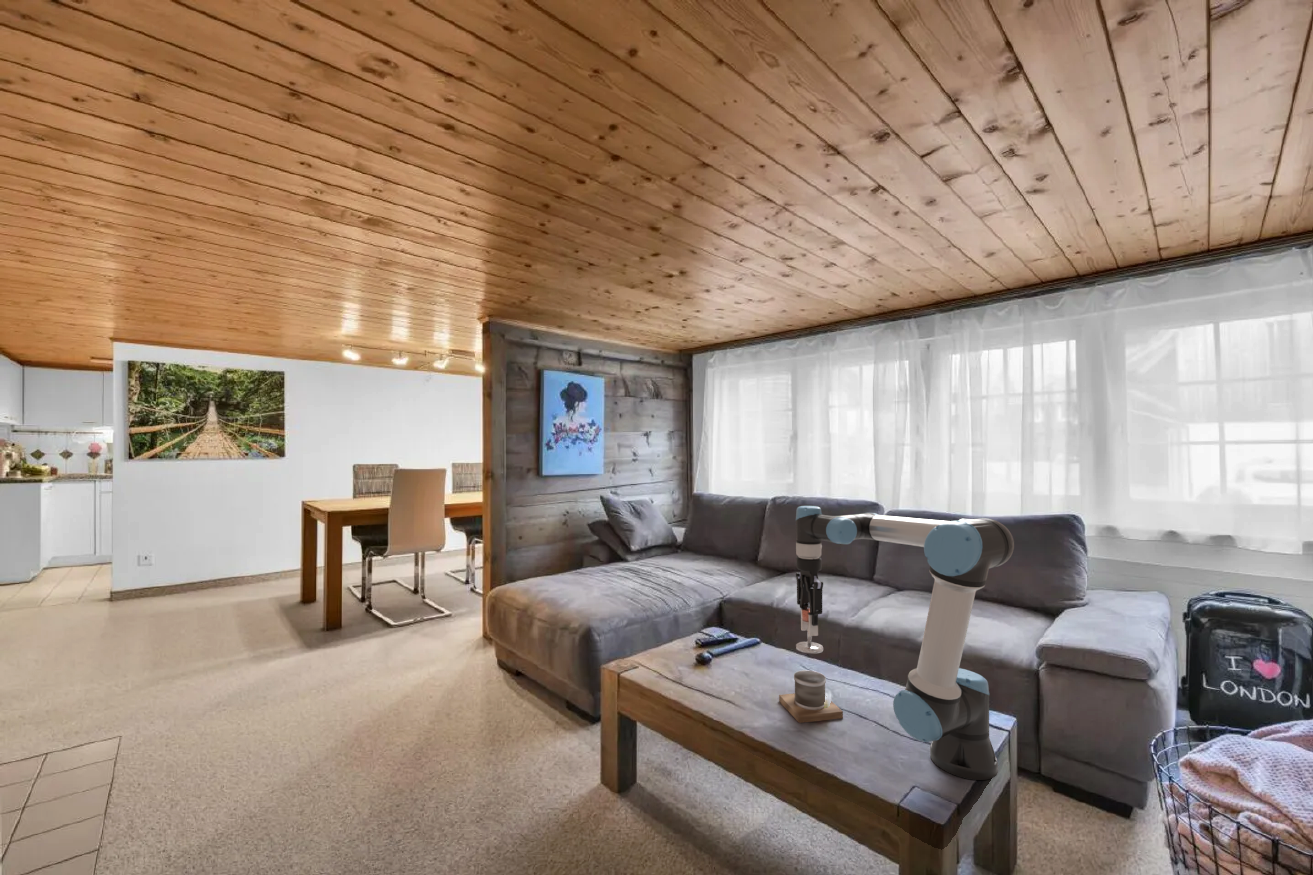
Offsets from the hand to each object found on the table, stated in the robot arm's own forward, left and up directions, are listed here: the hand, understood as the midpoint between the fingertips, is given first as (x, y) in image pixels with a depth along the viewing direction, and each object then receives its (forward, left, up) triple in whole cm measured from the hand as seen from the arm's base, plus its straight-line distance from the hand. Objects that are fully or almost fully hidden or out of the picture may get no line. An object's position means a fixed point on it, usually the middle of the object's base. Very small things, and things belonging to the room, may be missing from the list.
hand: (809, 632), depth 170 cm
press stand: (0, 0, -23) cm, 23 cm away
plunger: (0, 0, -5) cm, 5 cm away
